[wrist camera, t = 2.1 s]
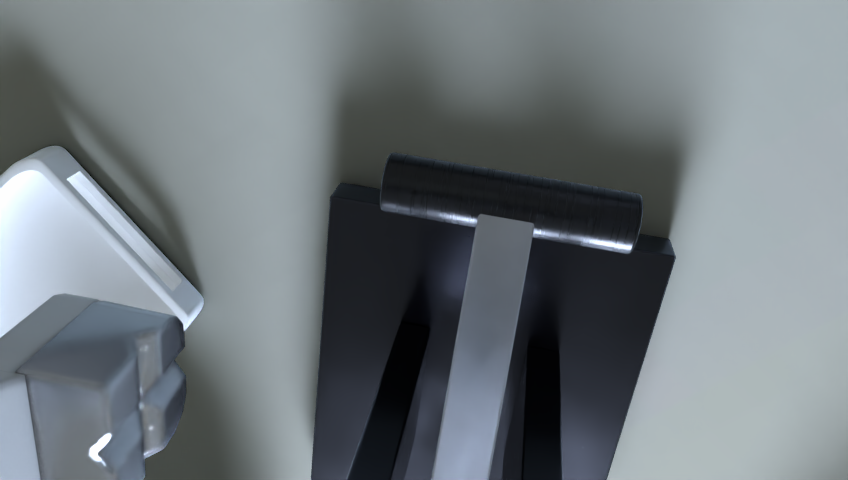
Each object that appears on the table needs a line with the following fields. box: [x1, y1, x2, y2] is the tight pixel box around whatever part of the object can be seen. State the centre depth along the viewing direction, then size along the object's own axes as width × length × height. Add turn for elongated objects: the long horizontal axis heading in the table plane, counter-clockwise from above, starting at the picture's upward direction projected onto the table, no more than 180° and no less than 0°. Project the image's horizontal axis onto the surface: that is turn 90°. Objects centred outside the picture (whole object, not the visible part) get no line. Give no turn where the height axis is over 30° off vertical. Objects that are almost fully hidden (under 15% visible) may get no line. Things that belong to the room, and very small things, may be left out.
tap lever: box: [380, 152, 643, 480], centre depth 15 cm, size 12×5×2 cm, turn 173°
